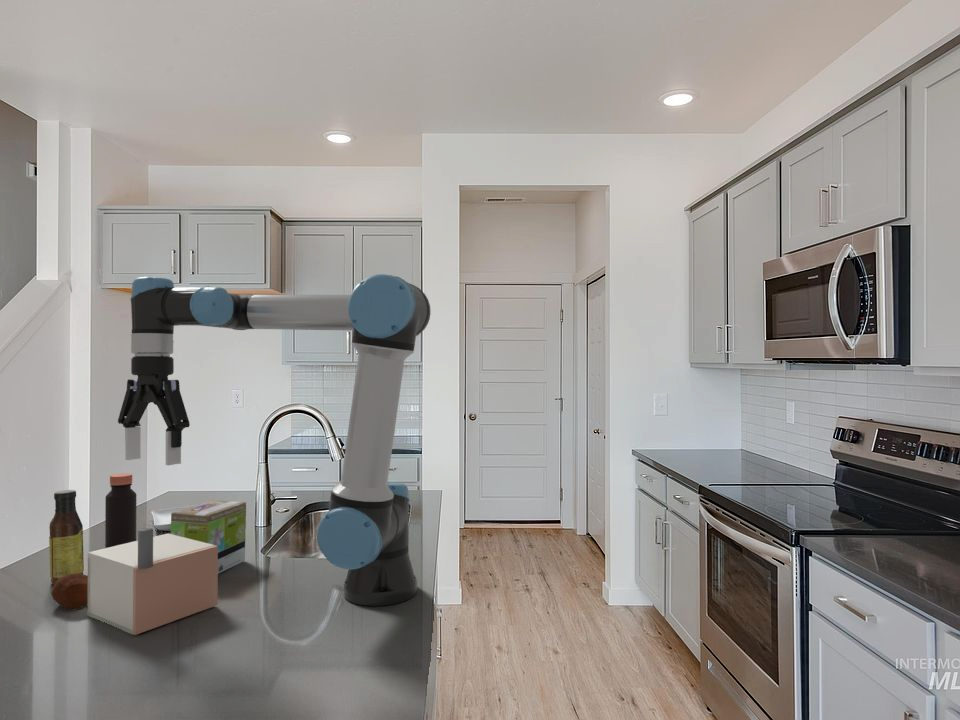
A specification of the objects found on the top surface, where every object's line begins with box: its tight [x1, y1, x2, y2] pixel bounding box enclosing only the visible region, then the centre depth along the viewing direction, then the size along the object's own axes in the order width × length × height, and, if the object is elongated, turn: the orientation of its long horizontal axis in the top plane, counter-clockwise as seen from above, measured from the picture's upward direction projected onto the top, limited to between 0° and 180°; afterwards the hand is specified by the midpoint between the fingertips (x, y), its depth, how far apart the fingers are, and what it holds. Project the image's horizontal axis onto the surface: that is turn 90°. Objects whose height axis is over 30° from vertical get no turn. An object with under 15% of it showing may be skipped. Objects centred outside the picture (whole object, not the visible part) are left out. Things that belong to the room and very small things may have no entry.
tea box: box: [170, 499, 247, 575], centre depth 146 cm, size 15×10×15 cm, turn 168°
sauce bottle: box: [48, 489, 85, 586], centre depth 138 cm, size 7×6×20 cm
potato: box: [51, 573, 88, 610], centre depth 124 cm, size 7×9×6 cm
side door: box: [133, 527, 219, 636], centre depth 117 cm, size 16×2×18 cm, turn 148°
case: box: [87, 533, 215, 636], centre depth 122 cm, size 16×16×12 cm
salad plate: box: [150, 504, 196, 532], centre depth 190 cm, size 21×21×3 cm
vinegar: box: [104, 473, 137, 549], centre depth 158 cm, size 7×7×20 cm
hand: (152, 461), depth 125 cm, fingers open, 13 cm apart
